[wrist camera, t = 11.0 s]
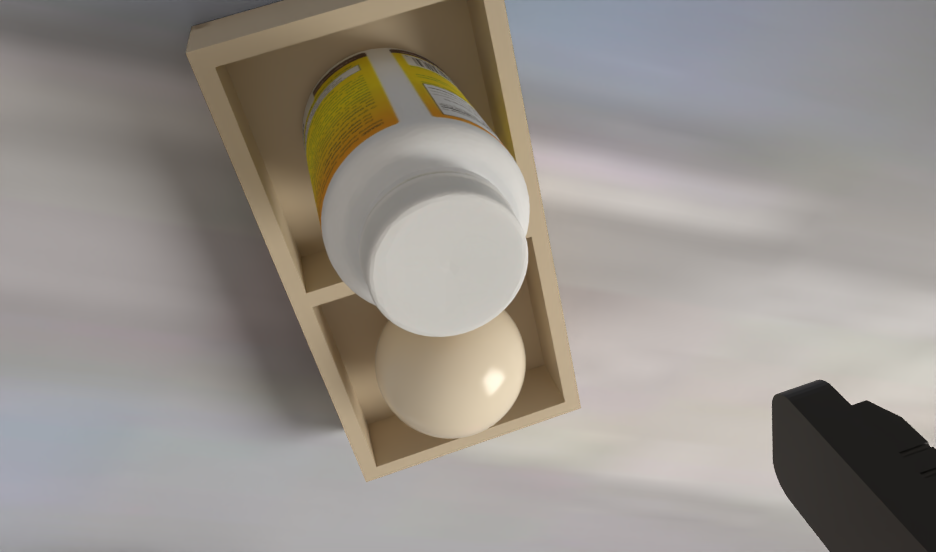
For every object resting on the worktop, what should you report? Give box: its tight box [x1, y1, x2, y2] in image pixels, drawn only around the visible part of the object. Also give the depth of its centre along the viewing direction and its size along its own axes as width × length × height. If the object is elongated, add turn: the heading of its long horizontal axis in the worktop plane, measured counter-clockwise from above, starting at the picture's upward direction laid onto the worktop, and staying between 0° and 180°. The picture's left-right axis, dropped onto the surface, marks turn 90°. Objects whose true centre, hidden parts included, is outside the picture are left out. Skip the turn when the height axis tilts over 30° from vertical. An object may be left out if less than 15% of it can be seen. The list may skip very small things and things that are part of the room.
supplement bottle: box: [302, 48, 530, 337], centre depth 23 cm, size 6×6×10 cm
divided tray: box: [186, 0, 581, 482], centre depth 29 cm, size 9×18×3 cm, turn 13°
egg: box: [375, 310, 526, 439], centre depth 29 cm, size 6×6×6 cm
